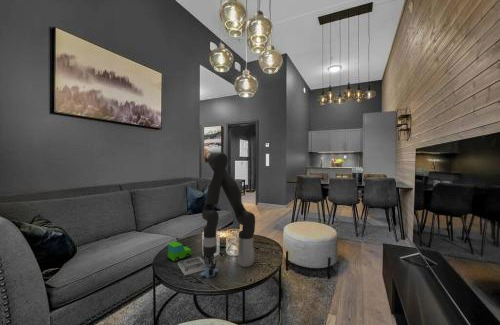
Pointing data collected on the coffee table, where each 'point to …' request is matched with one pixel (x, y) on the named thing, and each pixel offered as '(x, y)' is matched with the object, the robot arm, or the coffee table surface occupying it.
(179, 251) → the toy car
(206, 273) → the block
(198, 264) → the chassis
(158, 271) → the coffee table surface
